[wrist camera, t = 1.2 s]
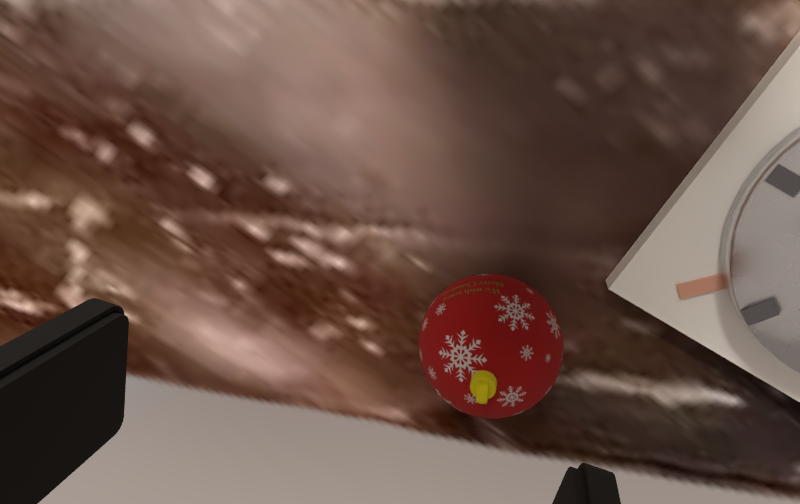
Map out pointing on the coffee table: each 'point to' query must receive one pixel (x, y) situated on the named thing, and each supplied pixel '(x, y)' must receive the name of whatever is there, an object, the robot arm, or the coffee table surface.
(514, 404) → the christmas ornament
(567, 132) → the coffee table surface
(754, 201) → the rotary dial
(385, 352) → the coffee table surface
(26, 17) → the coffee table surface
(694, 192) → the base plate
